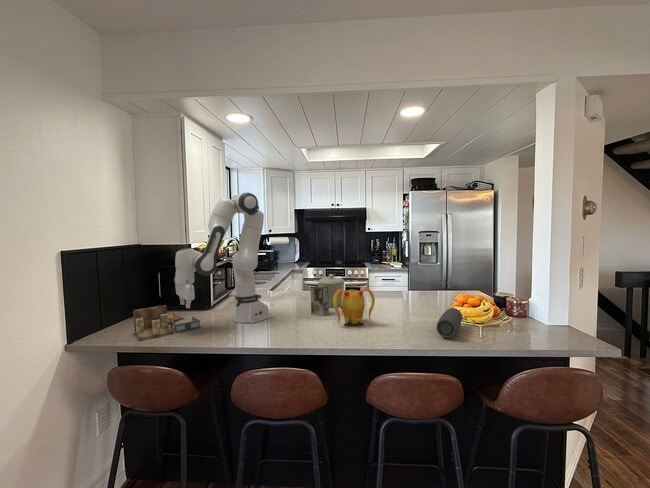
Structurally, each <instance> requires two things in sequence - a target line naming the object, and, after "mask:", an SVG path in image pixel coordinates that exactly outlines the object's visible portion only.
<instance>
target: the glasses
mask: <svg viewBox="0 0 650 488" xmlns="http://www.w3.org/2000/svg"><path fill="white" fill-rule="evenodd" d="M191 319H192V320H191V321H185V322H181V323H176V322H173V321H170V324H169V327H170V328H171V329H172V330H173V328H174V334H178V333H182V332H188V331H191V330H196V329H200V328H201V320H199V319H198V318H197V317H196V316H195V315H194V316H191ZM173 326H174V327H173Z"/></svg>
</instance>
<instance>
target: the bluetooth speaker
mask: <svg viewBox="0 0 650 488" xmlns="http://www.w3.org/2000/svg"><path fill="white" fill-rule="evenodd" d="M462 322H463V314H462V312H461V311H460V310H459V308H454V307H450V308H448V309H447V310H445V311H444V312H443V313H442V314H441V316H440V318H439V319H438V321H437V322H436V331H437V333H438V334H439V335H440V336H441V337H443V338H452V337H453V336H454V335H456V333H457V332H458V330H460V327H461V324H462Z"/></svg>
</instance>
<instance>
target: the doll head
mask: <svg viewBox="0 0 650 488" xmlns="http://www.w3.org/2000/svg"><path fill="white" fill-rule="evenodd" d="M342 291H343V294H342V297H341V305H340V309H341V311H340V310H339V306H337V300H338V296H339V294H340V292H342ZM364 291H366V292H368V294H369V295H370V298H371V303H370V304H371V305H370V307H369V309H368V318H369V321H371V314H372V312H373V309H374V306H375V302H376V301H375V300H376V299H375V295H374V293H373V291H372V290H371V289H370V288H368V287H366V288H363V289H362V290H357V289H352V288H351V289H348V290H345V289H344V288H343V289H339V290H337V291H336V292H335V294H334V297H333V305H334V307H333V308H334V310H335V312H336V314H337V323H338V324H340V321H341V316H343V318H344V323H343V326H344V327H349V328H350V327H351V328H353V327H356V328H357V327H362V326H364V323H363V319H364V318H363V317H364V312H365V311H364V310H365V307H366V306H365V297H364ZM340 312H341V313H340Z"/></svg>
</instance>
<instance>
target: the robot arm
mask: <svg viewBox="0 0 650 488" xmlns="http://www.w3.org/2000/svg"><path fill="white" fill-rule="evenodd" d="M210 214H211V215H210V217H209V220H208V223H207V224H208V226H207V227H208V230H209V237H208V239H207V244H206V246H205V248H204V250H203V252H200V251H197V250H195V249H193V248H192V247H184V248H181V249H178V250H177V251H176V253H175V260H174V262H175V263H174V265H175V276H174V278H173V282H174V284H175V285H174V286H175V294H176V295H177V296H179V301H180V303H179V304H180V305H183V306H184V305H185V308H186V309H190V308H191V303H192V301H194V300H195V299H196V298H195V297H196V295H195V287H194V286H195V285H194V284H193V283H195V272H196V273H197V274H199V275H201V276H205V277H206V276H210V275H212V274H213V273H215V271H216V270H217V266H218V265H217V256H218V253H219V250H220V247H221V244H222V241H223V239H224V238H225V235H226V233H227V232H228V230H229V228H230V226H231V224H232V221H233V218H234V217H235V215H236V214H243V217H244V218H243V219H244V221H243V223H242V229H241V231H240V236H239V245H238V246H239V247H238V251H237V252H236V253H234V254H233V256H232V259H231V261H232V269H233V276H234V288H235V295H234V306H235V310H234V317H233V322H235V323H238V324H240V323H241V324H245V323H247V324H248V323H250V324H254V323H258V322H262V321H264V320H269V319H271V318H273V317H274V314H273V313H271V312H270V309H269V306H268V305H267V304H266V303H265V302H263V301H261V300H260V299H262V297H263V295H261V294H257V293H256V279H255V276H254V275H255V273H254V270H255V269H256V268H257V267H258V264H259V263H258V262H259V260H258V259H259V258H258V257H259V250H260V249H259V246H260V241H261V237H262V233H263V228H264V220H265V218H264V217H265V216H264V213H263V211H262V210H261V209H260V206H259V200H258V198H257V196H256V195H255V194H253V193H251V192H241V193H239V194H236V195H234V196H233V197H232V198H228V197H222V198H220V199H219V200H218V202H217V203H216V204H215V205H214V208H213V210H212V212H211V213H210Z"/></svg>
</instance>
